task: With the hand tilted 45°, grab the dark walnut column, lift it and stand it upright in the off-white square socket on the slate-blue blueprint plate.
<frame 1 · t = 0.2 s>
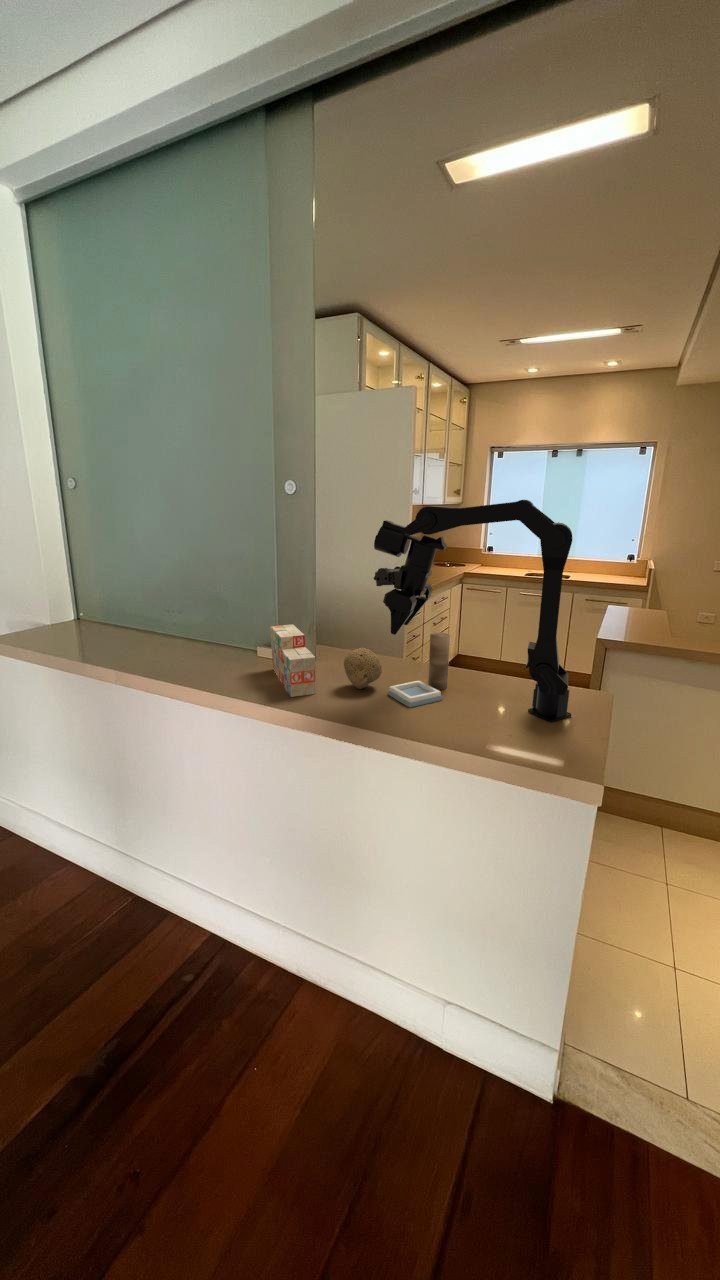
hand: (399, 629, 117), 16 cm above the countertop, tool tilted 15°, fingers open, 9 cm apart
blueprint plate: (414, 697, 119), on the countertop
walnut column: (437, 686, 126), on the countertop
natural sponge: (362, 688, 125), on the countertop
stack of blocks: (292, 682, 130), on the countertop
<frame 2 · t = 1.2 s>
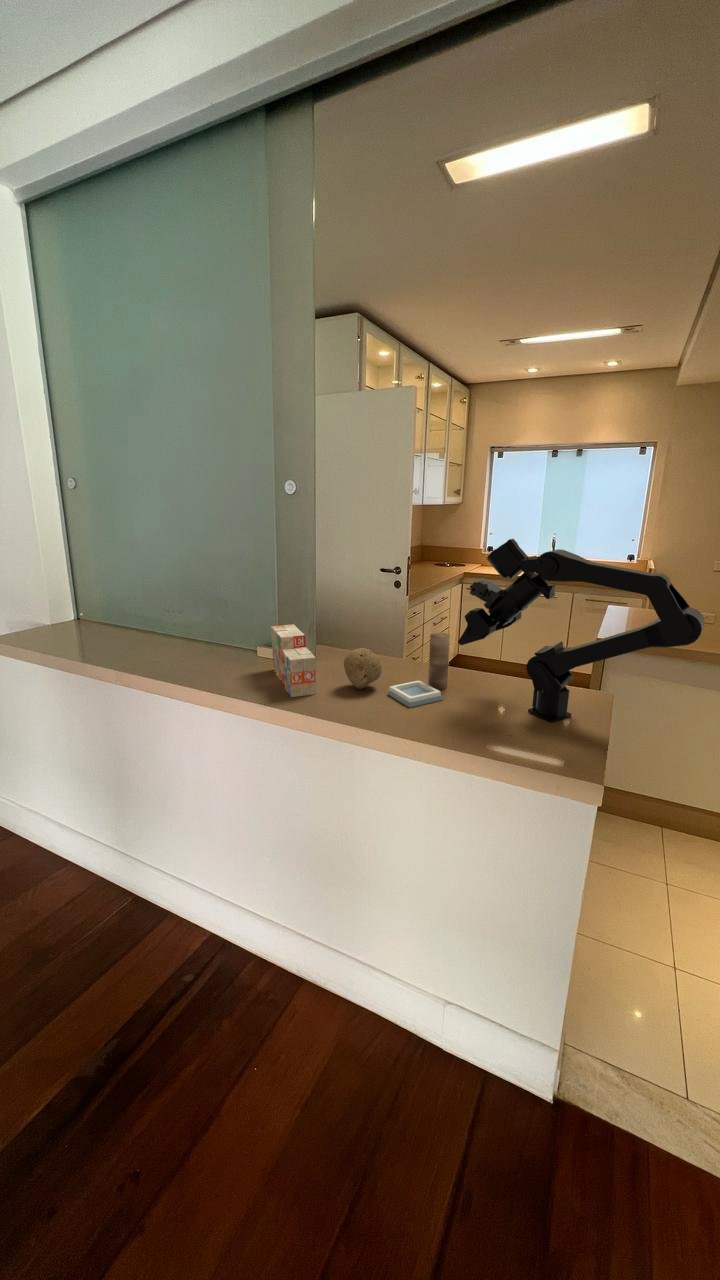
hand: (468, 639, 118), 13 cm above the countertop, tool tilted 45°, fingers open, 9 cm apart
nothing on the countertop moved.
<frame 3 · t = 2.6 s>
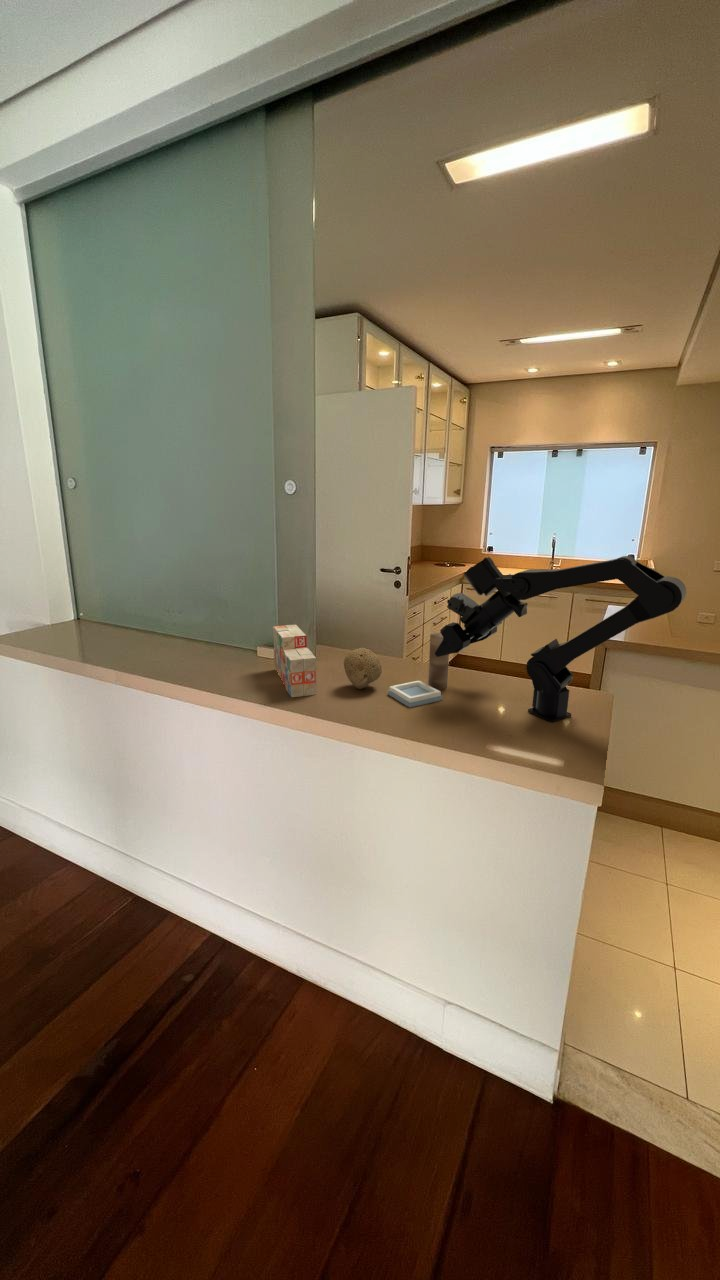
hand: (445, 650, 122), 9 cm above the countertop, tool tilted 45°, fingers open, 9 cm apart
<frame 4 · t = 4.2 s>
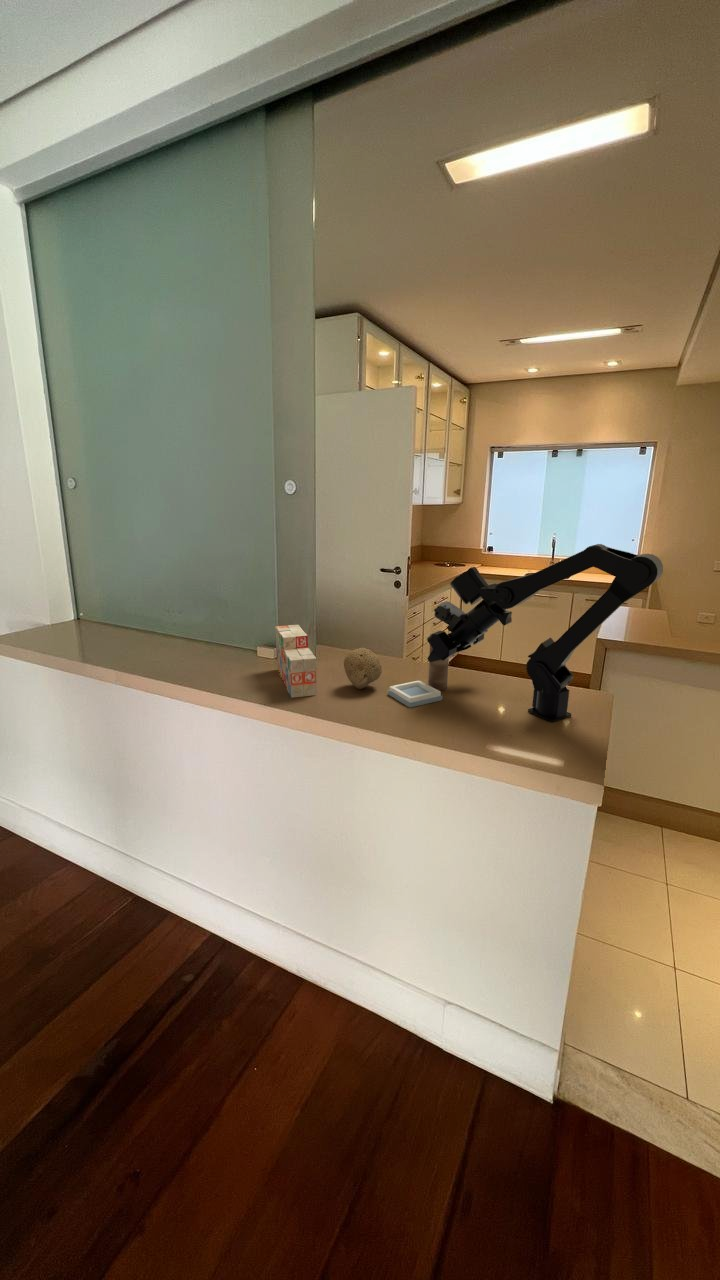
hand: (433, 657, 125), 7 cm above the countertop, tool tilted 45°, fingers closed on walnut column, 5 cm apart
walnut column: (437, 686, 126), on the countertop, touching gripper
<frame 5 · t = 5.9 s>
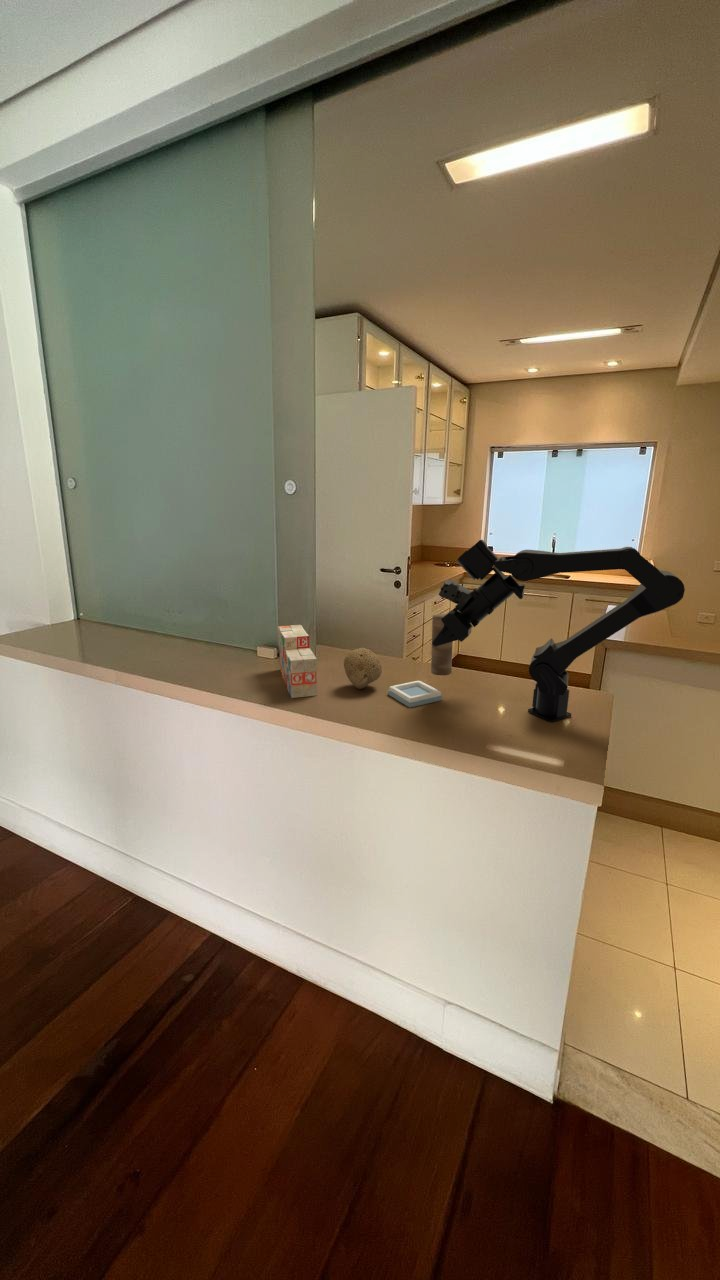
hand: (436, 641, 116), 13 cm above the countertop, tool tilted 45°, fingers closed on walnut column, 5 cm apart
walnut column: (441, 672, 117), point 6 cm above the countertop, touching gripper
when the fingers open (9 cm above the countertop, at t = 7.7 s): walnut column drops 1 cm, resting on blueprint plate.
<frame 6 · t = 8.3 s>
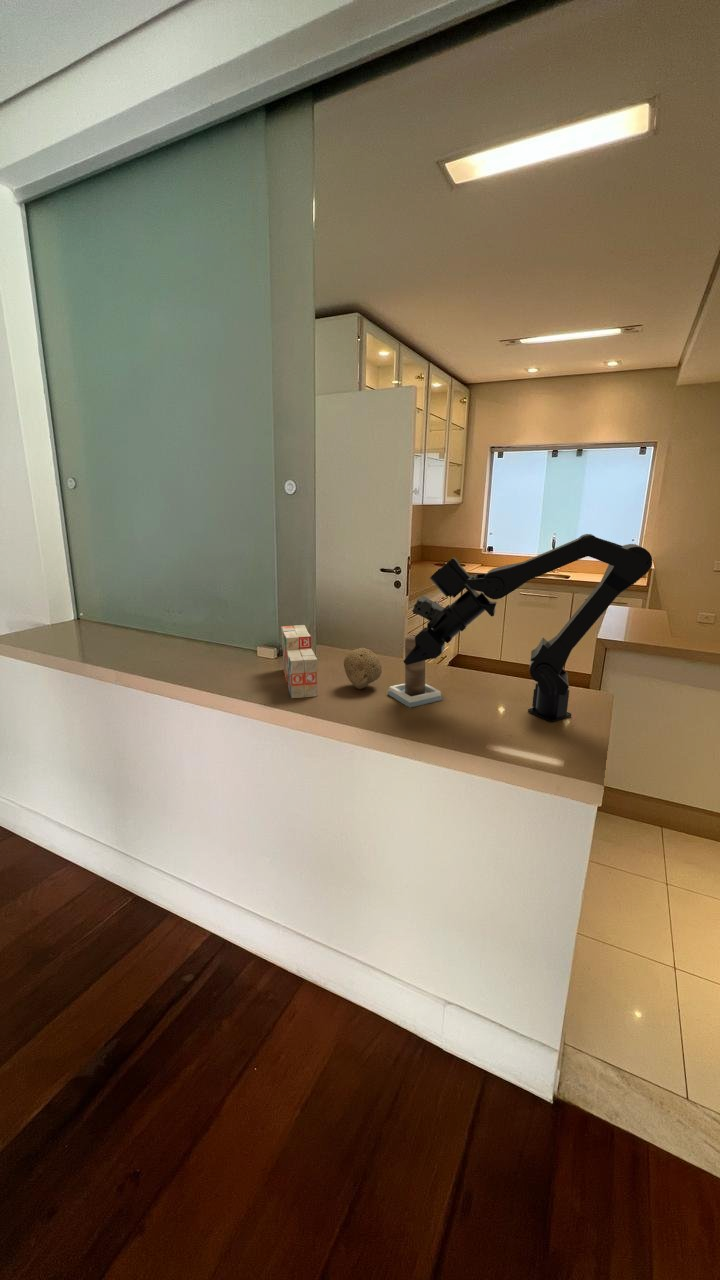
hand: (409, 657, 117), 10 cm above the countertop, tool tilted 45°, fingers open, 9 cm apart
walnut column: (415, 692, 119), point 1 cm above the countertop, touching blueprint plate
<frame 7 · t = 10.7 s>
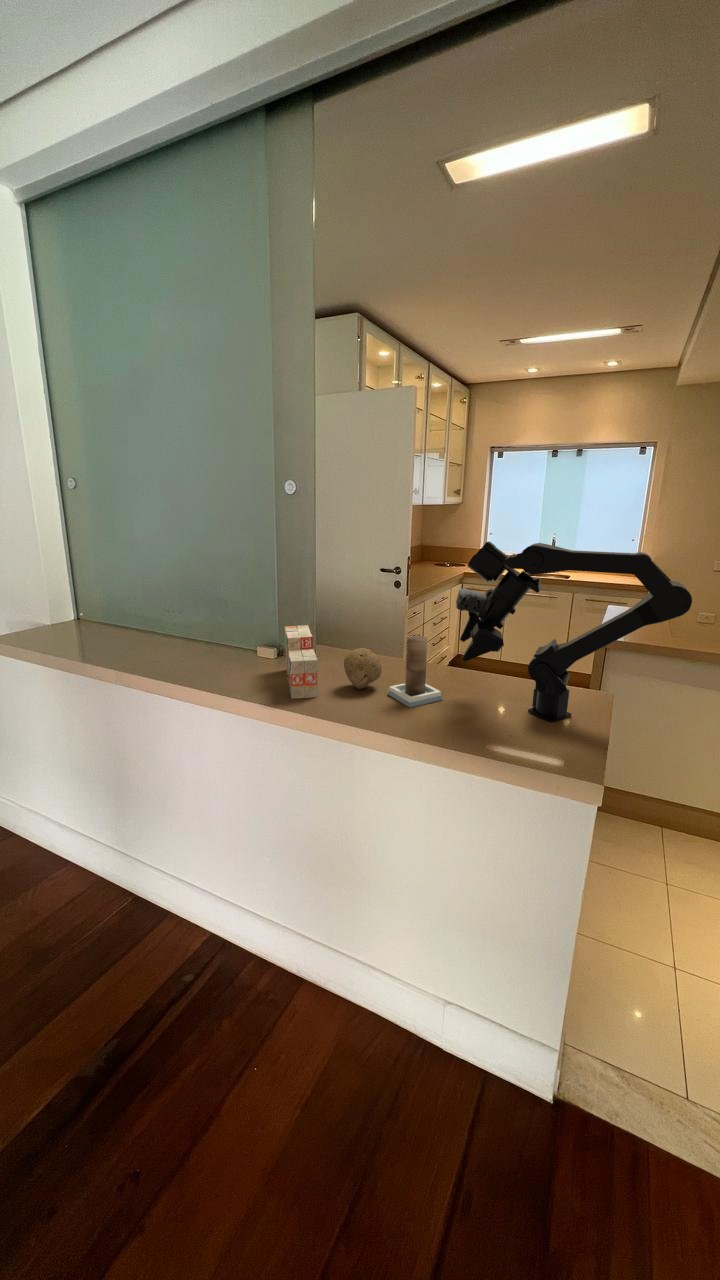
hand: (462, 650, 115), 12 cm above the countertop, tool tilted 35°, fingers open, 9 cm apart
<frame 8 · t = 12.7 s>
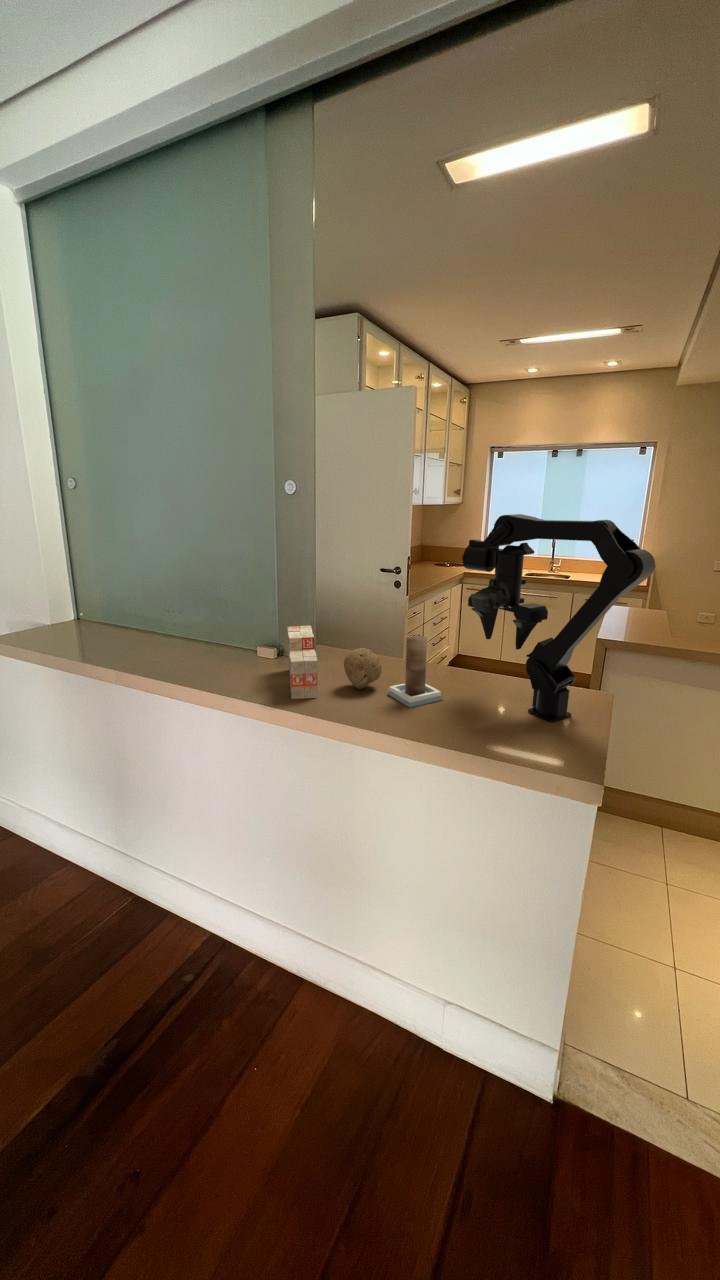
hand: (502, 644, 115), 13 cm above the countertop, tool pointing down, fingers open, 9 cm apart
at the end: walnut column 0.1 cm off-centre on the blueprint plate, point 1.0 cm above the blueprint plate's base; walnut column tilted 1°; the gripper is holding nothing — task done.
